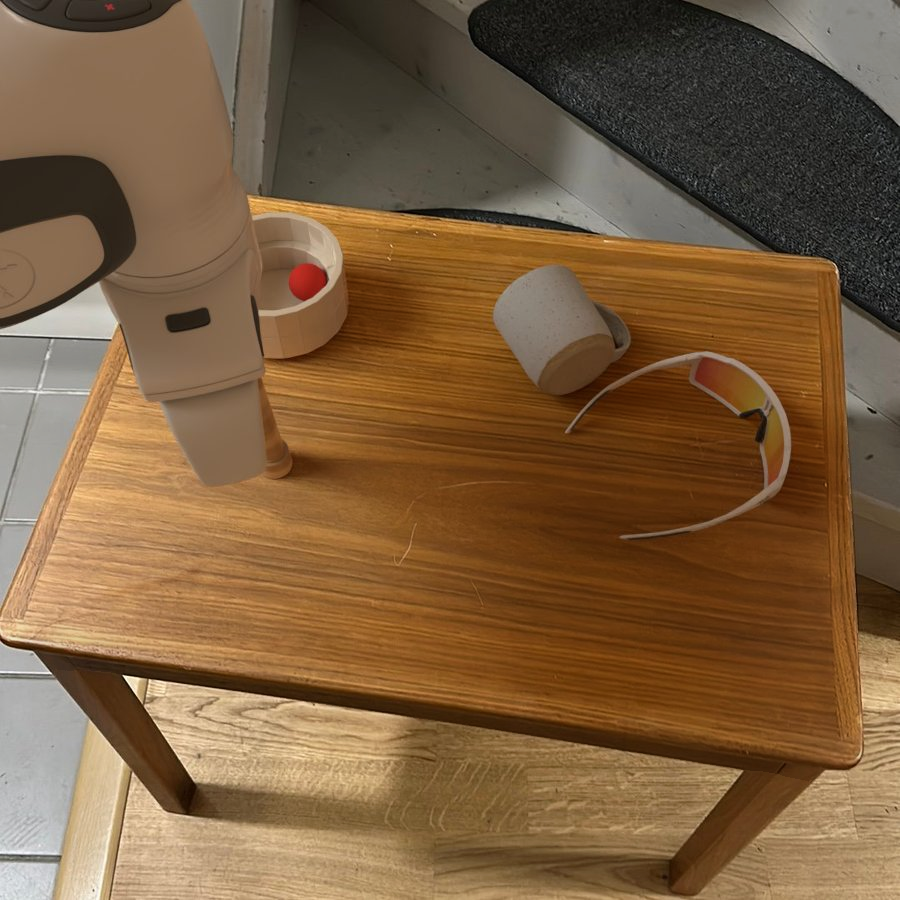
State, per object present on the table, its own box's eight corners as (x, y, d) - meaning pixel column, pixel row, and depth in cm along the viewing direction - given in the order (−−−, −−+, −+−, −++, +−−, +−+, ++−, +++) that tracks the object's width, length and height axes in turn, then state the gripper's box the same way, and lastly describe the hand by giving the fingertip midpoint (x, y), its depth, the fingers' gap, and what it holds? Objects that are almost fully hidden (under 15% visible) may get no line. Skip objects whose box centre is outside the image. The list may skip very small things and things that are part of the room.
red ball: (290, 272, 75) (324, 259, 76) (278, 269, 78) (311, 256, 79) (303, 309, 77) (337, 295, 78) (291, 305, 79) (324, 291, 80)
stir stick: (252, 471, 71) (185, 302, 53) (270, 444, 72) (210, 271, 55) (281, 484, 70) (222, 318, 53) (298, 457, 71) (247, 286, 54)
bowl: (229, 376, 75) (214, 329, 70) (207, 277, 81) (192, 227, 76) (362, 346, 77) (357, 298, 72) (332, 251, 83) (325, 200, 78)
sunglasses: (813, 500, 70) (829, 469, 65) (631, 574, 69) (634, 548, 64) (721, 359, 77) (729, 323, 72) (554, 425, 76) (552, 392, 71)
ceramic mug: (535, 414, 74) (547, 354, 67) (487, 341, 77) (494, 278, 71) (647, 368, 76) (668, 307, 70) (595, 300, 80) (611, 236, 74)
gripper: (100, 142, 55) (158, 296, 67) (141, 413, 45) (201, 539, 57) (205, 123, 56) (245, 278, 68) (268, 384, 46) (302, 514, 58)
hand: (225, 399), depth 62 cm, fingers open, 8 cm apart
